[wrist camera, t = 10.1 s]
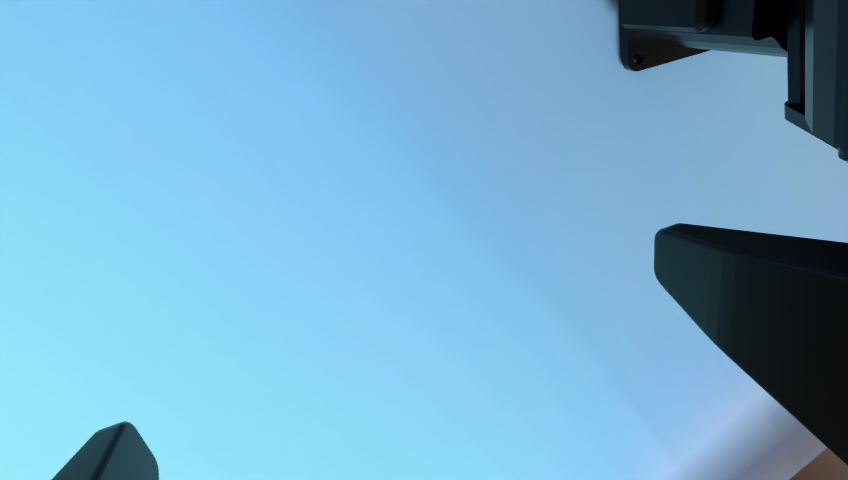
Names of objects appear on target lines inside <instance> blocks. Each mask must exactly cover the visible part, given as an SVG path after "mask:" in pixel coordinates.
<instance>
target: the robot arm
mask: <svg viewBox="0 0 848 480" xmlns="http://www.w3.org/2000/svg"><path fill="white" fill-rule="evenodd" d="M620 20H621V35H622V64H623V66H624V68H625V69H627V70H631V71H640V70H644V69H647V68H651V67H654V66H658V65H661V64H664V63H668V62H671V61H675V60H678V59H682V58H685V57H689V56H692V55H696V54H699V53H703V52H706V51H710V50H718V51H729V52H739V53H749V54H760V55H770V56H781V57H787V68H788V101H787V102H785V119H786V120H788V121H789V122H791V123H793V124H795V125H796V126H798V127H800V128H801V129H803V130H805V131H807V132H808V133H810V134H812V135H813V136H815V137H817V138H819V139H820V140H822V141H824V142H825V143H827V144H829V145H831V146H832V147H834V148H836V149H837V150H838V156H839V158H841V159H842V160H844V161H846V162H848V0H620ZM636 53H637V56H638V57H637V60H636V62H635V63H634V62H633V58H634V56H635V54H636ZM654 272H655V275H656V278H657V280H658V281H659V283H660V284H661V285H662V286H663V287H664V289H665V290H666V291H667V292H668V293H669V294H670V295H671V296H672V297H673V299H674V300H675V301H676V302H677V303H678V304H679V305H680V306H681V307H682V309H683V310H684V311H685V312H686V313H687V314H688V315H689V316H690V317H691V319H692V320H693V321H694V322H695V323H696V324H697V325H698V326H699V328H700V329H701V330H702V331H703V332H704V333H705V334H706V335H707V336H708V337H709V338H710V339H711V340H712V342H713V343H714V344H715V345H716V346H717V347H718V348H719V349H721V350H722V351H723V352H724V353H725V354H726V355H727V356H728V357H729V358H730V359H731V360H732V361H733V362H734V363H736V364H737V365H738V366H739V367H740V368H741V369H742V370H743V371H744V372H745V373H746V374H748V375H749V376H750V377H751V378H752V379H753V380H754V381H755V382H756V383H757V384H758V385H760V386H761V387H762V388H763V389H764V390H765V391H766V392H767V393H768V394H769V395H770V396H772V397H773V398H774V399H775V400H776V401H777V402H778V403H779V404H780V405H781V406H782V407H784V408H785V409H786V410H787V411H788V412H789V413H790V414H791V415H792V416H793V417H794V418H796V419H797V420H798V421H799V422H800V423H801V424H802V425H803V426H804V427H805V428H806V429H808V430H809V431H810V432H811V433H812V434H813V435H814V436H815V437H816V438H817V439H819V440H820V441H821V442H822V443H823V444H824V445H825V446H826V447H827V448H828V449H829V450H831V451H832V452H833V453H834V454H835V455H836V456H837V457H838V458H839V459H840V460H841V461H843V462H844V463H845V464H846V465H847V466H848V243H843V242H835V241H826V240H818V239H809V238H801V237H793V236H784V235H776V234H767V233H759V232H750V231H742V230H733V229H725V228H716V227H708V226H699V225H691V224H682V223H679V224H674V225H671V226H669V227H666V228H663V229H660V230H659V231H658V232H657V233H656V235H655V243H654ZM52 480H159V470H158V465H157V462H156V459H155V457H154V455H153V454H152V452H151V451H150V449H149V448H148V446H147V445H146V443H145V442H144V440H143V439H142V437H141V436H140V434H139V433H138V431H137V429H136V428H135V427H134V426H133V425H132V424H131V423H130V422H121V423H118V424H115V425H112V426H110V427H107V428H104V429H101V430H99V431H97V432H96V433H95V434H94V435H93V436H92V437H91V438H90V439H89V440H88V441H87V442H86V443H85V444H84V445H83V447H82V448H81V449H80V450H79V451H78V452H77V453H76V454H75V455H74V456H73V457H72V458H71V459H70V460H69V462H68V463H67V464H66V465H65V466H64V467H63V468H62V469H61V470H60V471H59V472H58V473H57V474H56V475H55V477H54V478H53V479H52Z"/></svg>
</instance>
